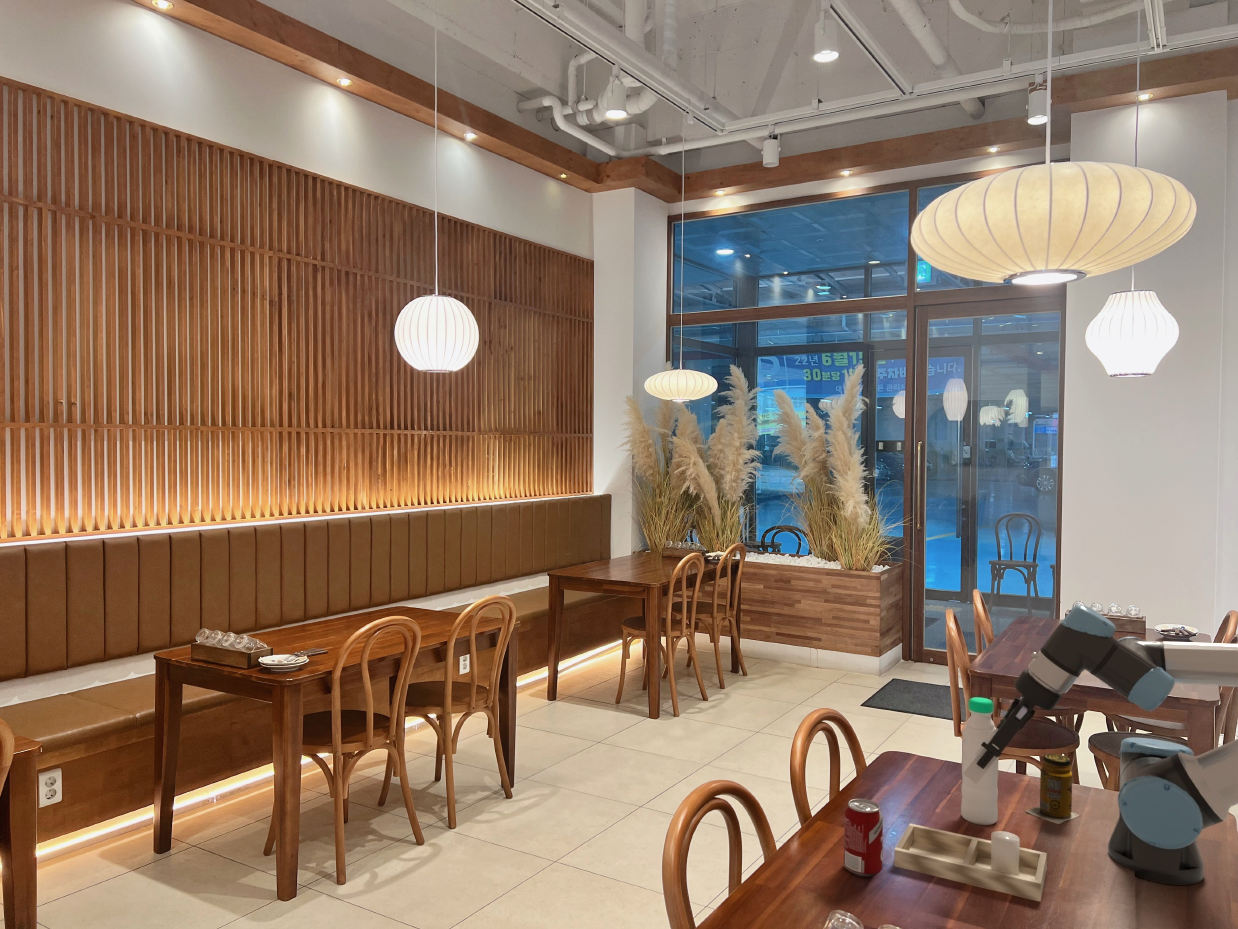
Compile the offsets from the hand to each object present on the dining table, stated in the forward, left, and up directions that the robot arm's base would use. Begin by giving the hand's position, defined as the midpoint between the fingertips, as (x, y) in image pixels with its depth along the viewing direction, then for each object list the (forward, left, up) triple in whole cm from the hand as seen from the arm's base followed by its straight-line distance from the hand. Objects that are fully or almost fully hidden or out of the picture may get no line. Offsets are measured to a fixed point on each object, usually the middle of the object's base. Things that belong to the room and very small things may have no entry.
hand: (975, 768), depth 163 cm
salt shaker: (-6, +7, -16) cm, 18 cm away
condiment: (-11, -30, -17) cm, 36 cm away
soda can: (+17, +16, -17) cm, 29 cm away
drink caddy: (0, +7, -17) cm, 18 cm away
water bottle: (+2, -19, -17) cm, 26 cm away
